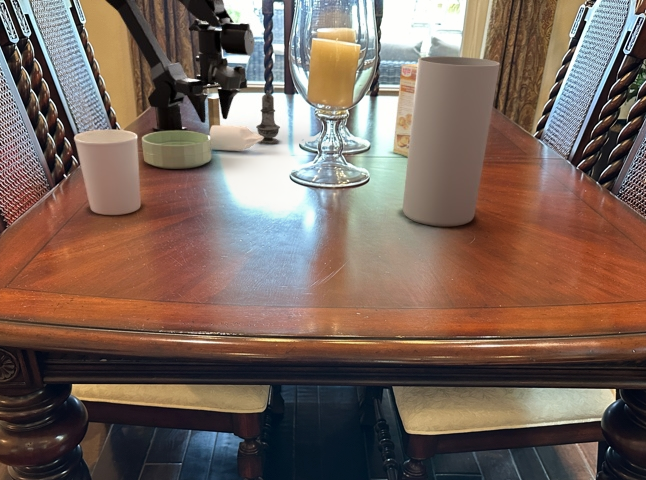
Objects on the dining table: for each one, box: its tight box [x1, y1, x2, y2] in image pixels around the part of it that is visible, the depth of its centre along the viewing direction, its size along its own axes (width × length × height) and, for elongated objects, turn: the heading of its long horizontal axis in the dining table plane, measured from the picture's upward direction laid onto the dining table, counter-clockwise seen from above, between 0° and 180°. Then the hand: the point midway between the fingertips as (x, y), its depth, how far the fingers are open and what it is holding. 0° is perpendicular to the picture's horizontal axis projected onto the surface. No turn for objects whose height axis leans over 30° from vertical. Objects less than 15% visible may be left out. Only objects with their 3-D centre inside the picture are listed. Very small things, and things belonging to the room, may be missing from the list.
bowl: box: [141, 130, 212, 170], centre depth 131 cm, size 14×14×5 cm
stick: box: [207, 96, 221, 134], centre depth 153 cm, size 2×2×9 cm
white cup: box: [73, 129, 142, 216], centre depth 102 cm, size 10×10×12 cm
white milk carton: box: [208, 124, 264, 152], centre depth 141 cm, size 6×12×6 cm, turn 83°
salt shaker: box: [255, 89, 281, 145], centre depth 148 cm, size 6×6×12 cm
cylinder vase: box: [402, 55, 501, 228], centre depth 101 cm, size 12×12×25 cm
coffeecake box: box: [392, 63, 418, 158], centre depth 143 cm, size 15×7×20 cm, turn 131°
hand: (214, 120), depth 154 cm, fingers open, 7 cm apart
